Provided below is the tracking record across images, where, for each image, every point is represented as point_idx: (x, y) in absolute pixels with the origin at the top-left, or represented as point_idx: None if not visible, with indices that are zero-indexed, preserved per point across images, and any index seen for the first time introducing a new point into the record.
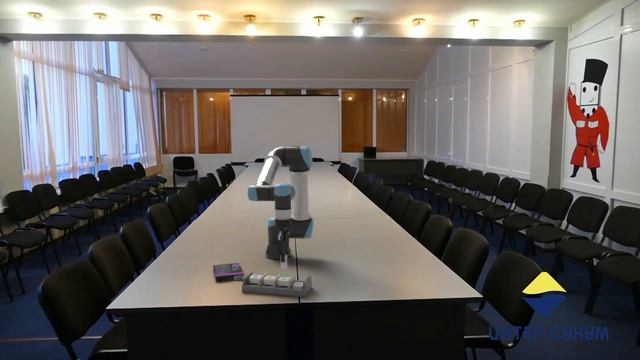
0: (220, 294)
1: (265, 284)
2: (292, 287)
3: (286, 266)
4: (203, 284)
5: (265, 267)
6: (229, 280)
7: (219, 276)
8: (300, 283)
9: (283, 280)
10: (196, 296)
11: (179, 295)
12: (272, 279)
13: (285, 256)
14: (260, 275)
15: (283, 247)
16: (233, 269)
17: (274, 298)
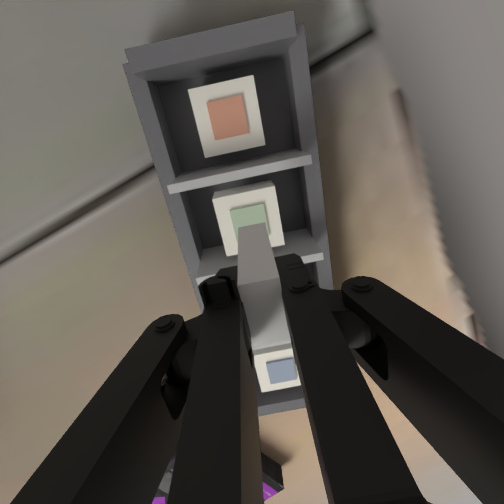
0: (383, 396)
1: None
2: (231, 163)
3: (258, 230)
4: (317, 480)
5: (40, 421)
6: None
7: (274, 481)
8: (221, 106)
9: (278, 210)
10: (420, 441)
11: (423, 478)
12: None
13: (278, 276)
14: (258, 359)
15: (455, 354)
16: None
17: (361, 193)
